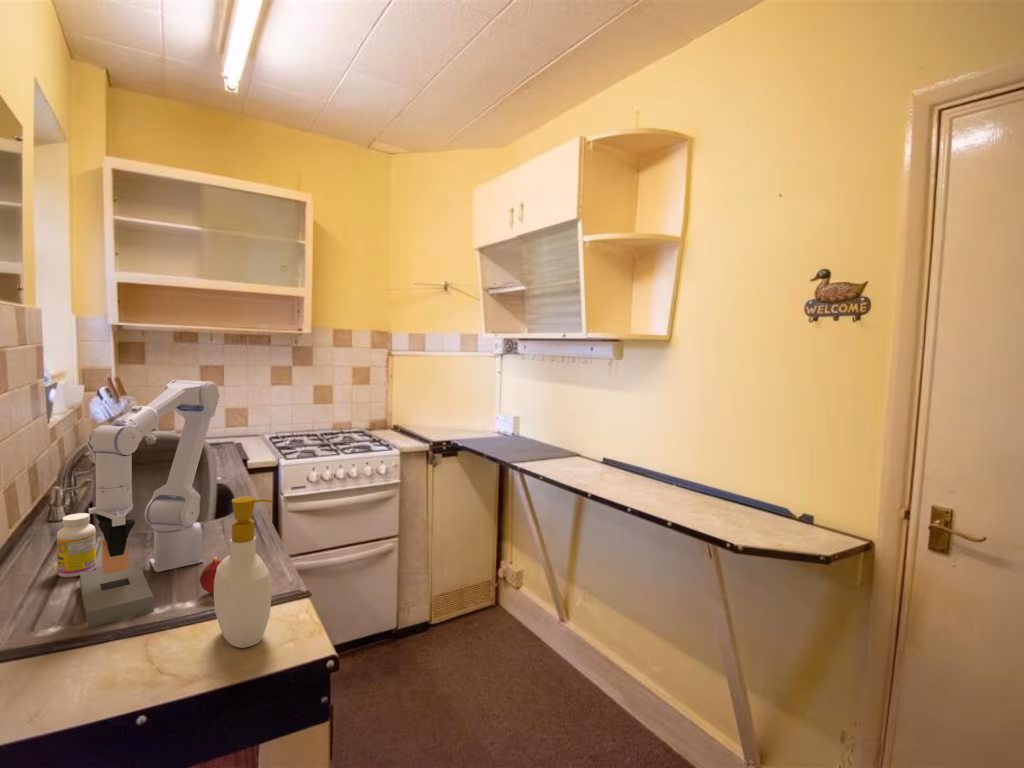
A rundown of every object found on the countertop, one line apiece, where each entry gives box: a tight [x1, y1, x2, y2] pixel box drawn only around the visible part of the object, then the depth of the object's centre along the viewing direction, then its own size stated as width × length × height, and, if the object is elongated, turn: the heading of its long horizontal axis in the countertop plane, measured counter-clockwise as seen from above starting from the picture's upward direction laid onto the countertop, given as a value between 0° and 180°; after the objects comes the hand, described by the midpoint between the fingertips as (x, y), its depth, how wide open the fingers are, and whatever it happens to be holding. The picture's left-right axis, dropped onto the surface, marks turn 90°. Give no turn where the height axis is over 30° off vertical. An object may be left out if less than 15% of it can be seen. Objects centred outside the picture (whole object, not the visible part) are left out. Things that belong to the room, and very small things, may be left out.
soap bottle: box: [213, 495, 273, 649], centre depth 93 cm, size 14×9×26 cm, turn 48°
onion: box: [199, 556, 223, 595], centre depth 108 cm, size 6×6×8 cm
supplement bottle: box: [56, 512, 97, 578], centre depth 114 cm, size 7×7×13 cm
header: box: [79, 560, 154, 629], centre depth 104 cm, size 10×20×3 cm, turn 43°
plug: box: [101, 538, 129, 574], centre depth 104 cm, size 4×3×6 cm
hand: (114, 550), depth 104 cm, fingers open, 6 cm apart
